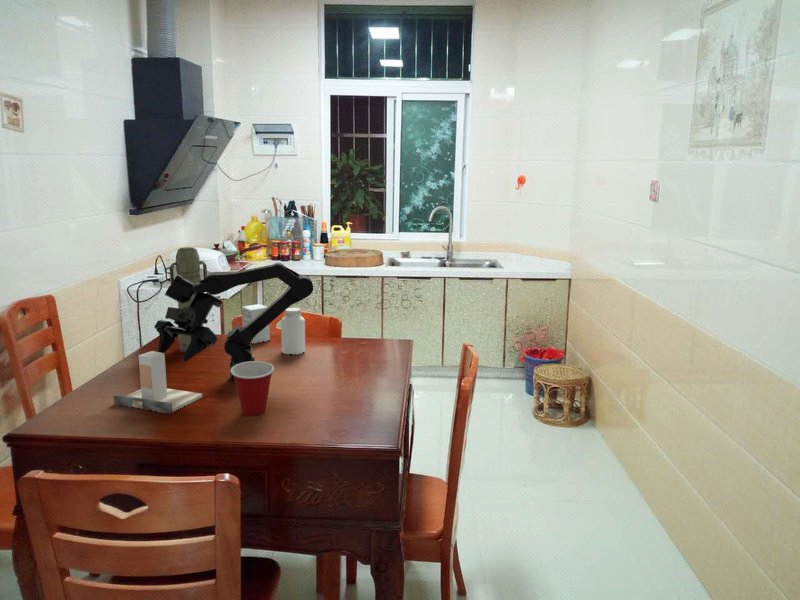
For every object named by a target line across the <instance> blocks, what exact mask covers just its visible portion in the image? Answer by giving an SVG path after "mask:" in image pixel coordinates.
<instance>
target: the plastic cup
mask: <svg viewBox="0 0 800 600" xmlns="http://www.w3.org/2000/svg"><path fill="white" fill-rule="evenodd" d="M230 371H231V373H232V375H233V377H234V380H233V381H234V383H235V387H236V392H237V397H238V400H239V403H240V410H241V411H242V414H243V415H245V416H248V415H249V417H254V416H255V415H256V416H260V415H263V414H264V413H265V412H266V409H267V405H268V404H267V403H268V398H269V390H270V383H271V378H272V374H273V373H274V371H275V366H274V365H273V364H272V363H269V362H266V361H260V360H257V361H256V360H255V361H249V362H243V363H240V364H236V365H235V366H233V367H232V368H231V370H230V369H229V372H230ZM256 416H255V417H256Z"/></svg>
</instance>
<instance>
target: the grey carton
mask: <svg viewBox="0 0 800 600" xmlns="http://www.w3.org/2000/svg"><path fill="white" fill-rule="evenodd" d="M165 354H166V353H160V352H158V351H154V350H151V351H147V352H145V353H141V354H139V355H138V362H139V363H138V365H139V368H138V369H139V381H140V389H141V394H142V399H148V400H154V401H157V400H159V399H162V398H164V397H167V387H168V386H167V373H166V371H167V370H166V358H165V357H166V356H165Z"/></svg>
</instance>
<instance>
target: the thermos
mask: <svg viewBox="0 0 800 600" xmlns="http://www.w3.org/2000/svg"><path fill="white" fill-rule="evenodd" d="M200 265H202V271H203V272H202V273H203V279H205V278H206V277H207V275H208V269H207V268H208V267H207V264H206V263H205V262H204V261H203V260H200V255H199V252H198V249H197V248H195V247H189V246H188V247H187V246H186V247H179V248H178V249H177V251H176V255H175V262H173V263H171V264H170V266H169V279H170V280H169V281H170V285H171V284H172V282H173V281H174V279H175V277H174V276H175V275H174V267H175V268H176V276H177V275H180V276H182V277H183V278H184V279H186V280H188V281H190V282H192V283H194V284H195V283H196V282H198V281H201V280H202V279H201V274H200V272H201V267H200ZM202 293H205V292H202ZM194 297H195V295H194V294H193V296H192V297H191V299H190V301H189V302H188V303H187V302H186V303H183V304H181V303H180V302H178V301H176V302H177V308H179V309H184V308H185V307H189V306H190V304H191V302H192V300H193V299H194ZM202 326H203V327H205V326H204V323H203V324H202ZM177 338H178V344H179V351H180V352H182V353H185V352H186V350H187V348H188V346H189V344H190V342H191V336H186V335H180V334H179V335H178V336H177ZM206 349H207V348H205V350H206Z"/></svg>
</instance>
